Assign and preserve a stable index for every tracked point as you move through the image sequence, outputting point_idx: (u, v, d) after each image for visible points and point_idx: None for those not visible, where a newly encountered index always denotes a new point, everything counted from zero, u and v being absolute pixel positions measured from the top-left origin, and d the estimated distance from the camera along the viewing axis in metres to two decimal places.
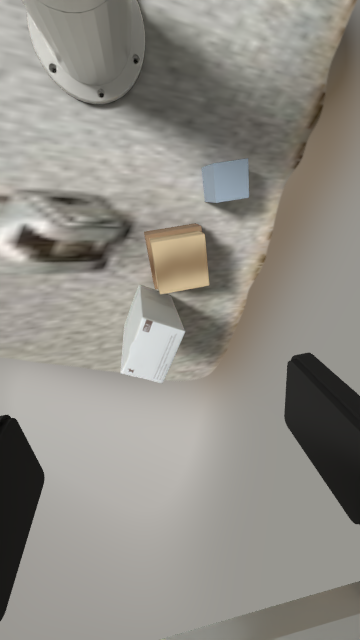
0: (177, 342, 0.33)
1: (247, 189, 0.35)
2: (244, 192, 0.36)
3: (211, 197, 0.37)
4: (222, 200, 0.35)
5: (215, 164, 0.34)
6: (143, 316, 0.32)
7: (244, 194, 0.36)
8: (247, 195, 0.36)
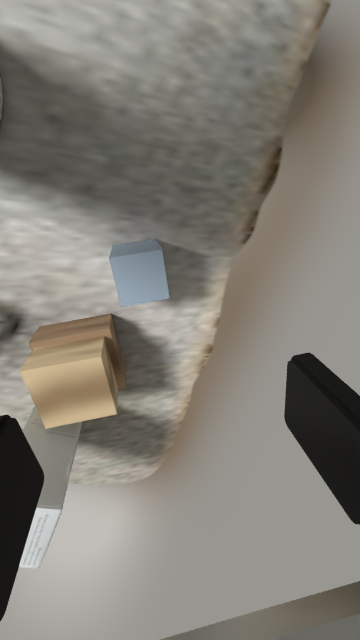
0: (52, 522, 0.22)
1: (166, 288, 0.25)
2: (161, 292, 0.25)
3: None
4: (130, 303, 0.25)
5: (113, 259, 0.23)
6: None
7: (162, 294, 0.25)
8: (166, 296, 0.25)
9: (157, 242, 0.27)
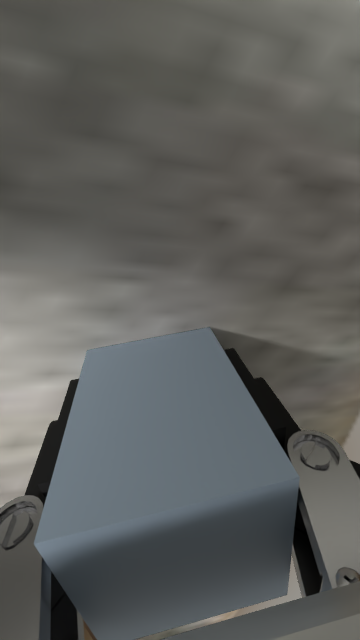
0: None
1: (281, 577, 0.06)
2: (264, 588, 0.06)
3: None
4: (139, 635, 0.06)
5: (55, 543, 0.04)
6: None
7: (265, 592, 0.06)
8: (279, 592, 0.07)
9: (228, 361, 0.08)
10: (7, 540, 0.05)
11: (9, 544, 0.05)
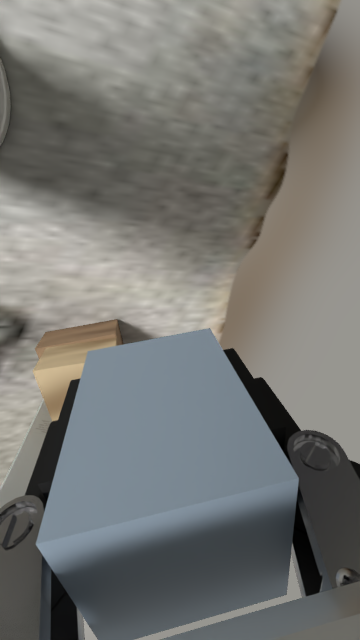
0: None
1: (281, 577, 0.06)
2: (263, 588, 0.06)
3: None
4: (140, 634, 0.06)
5: (57, 544, 0.04)
6: None
7: (265, 593, 0.07)
8: (279, 592, 0.07)
9: (228, 363, 0.08)
10: (7, 540, 0.05)
11: (9, 544, 0.05)
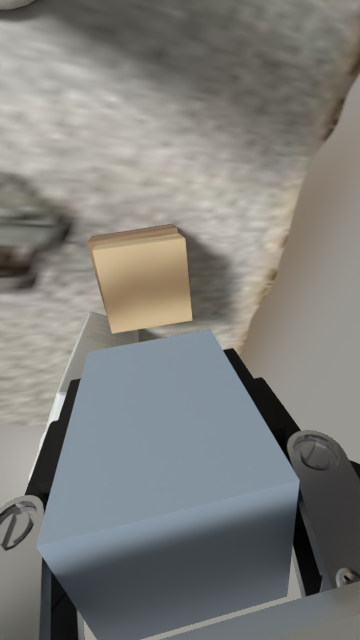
0: None
1: (281, 579, 0.06)
2: (264, 590, 0.06)
3: None
4: (140, 636, 0.06)
5: (57, 546, 0.04)
6: (61, 389, 0.17)
7: (266, 594, 0.06)
8: (279, 593, 0.07)
9: (229, 364, 0.08)
10: (7, 540, 0.05)
11: (9, 544, 0.05)
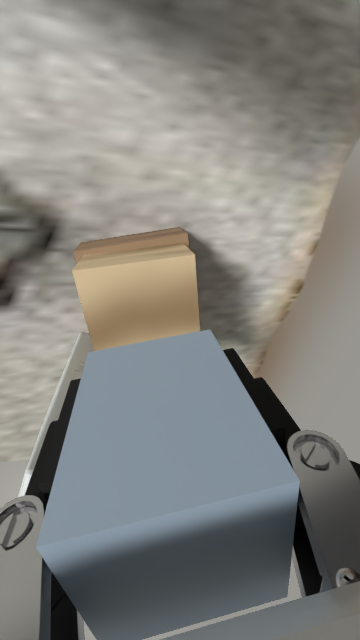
0: None
1: (281, 579, 0.06)
2: (264, 590, 0.06)
3: None
4: (140, 636, 0.06)
5: (57, 547, 0.04)
6: (31, 466, 0.12)
7: (266, 595, 0.06)
8: (279, 594, 0.07)
9: (229, 364, 0.08)
10: (7, 540, 0.05)
11: (9, 544, 0.05)
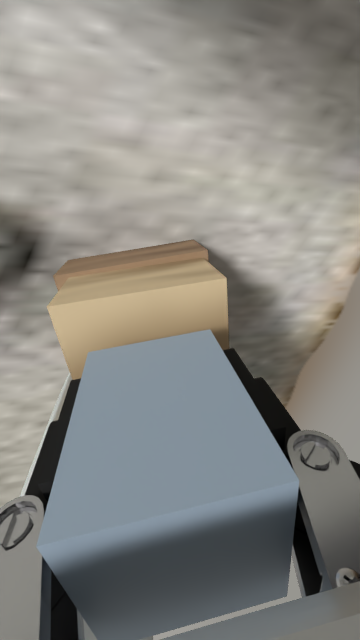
0: None
1: (281, 578, 0.06)
2: (264, 589, 0.06)
3: None
4: (140, 636, 0.06)
5: (57, 546, 0.04)
6: None
7: (265, 594, 0.07)
8: (279, 593, 0.07)
9: (228, 364, 0.08)
10: (7, 540, 0.05)
11: (9, 544, 0.05)
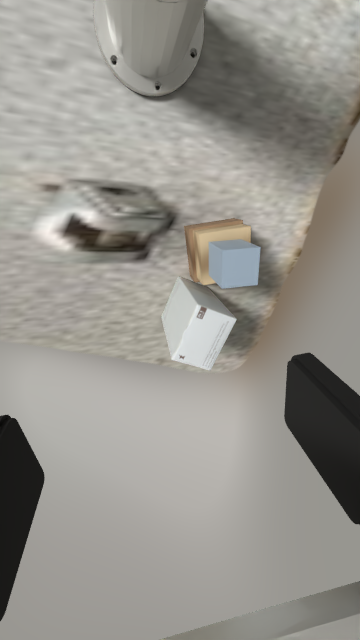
0: (228, 329, 0.34)
1: (256, 277, 0.33)
2: (253, 279, 0.33)
3: (216, 278, 0.34)
4: (228, 286, 0.33)
5: (224, 251, 0.31)
6: (198, 303, 0.32)
7: (253, 281, 0.33)
8: (256, 282, 0.33)
9: None
10: None
11: None
